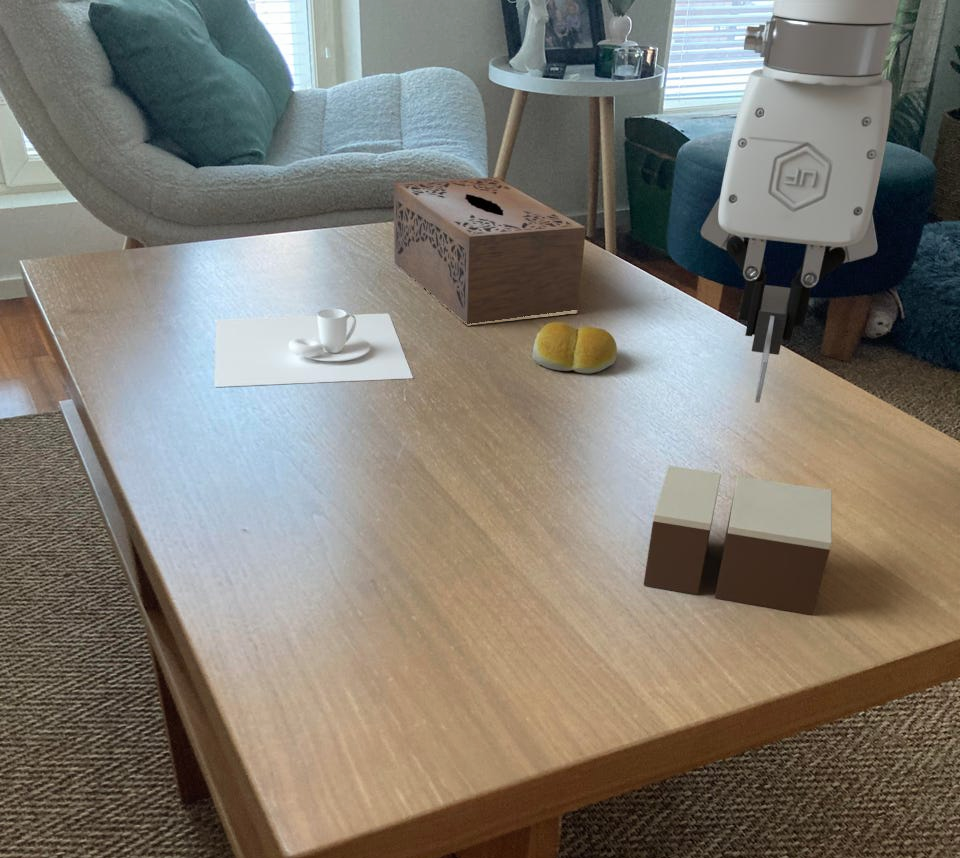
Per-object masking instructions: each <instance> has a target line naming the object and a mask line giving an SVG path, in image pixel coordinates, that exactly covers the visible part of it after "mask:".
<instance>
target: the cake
mask: <svg viewBox="0 0 960 858" xmlns="http://www.w3.org/2000/svg"><path fill="white" fill-rule="evenodd" d="M832 544H833V490H832V489H828V488H827V489H826V488H819V487H814V486H813V487H812V486H806V485H800V484H794V483H787V482H781V481H774V480H766V479H761V478H754V477H747V476H740V475H737V476H736V481H735V486H734V491H733V496H732V500H731V507H730V511H729V515H728V521H727V525H726V532H725V536H724V542H723V545H722V551H721V552H722V554H721V558H720V564H719V569H718V575H717V581H716V582H717V583H716V587H715V594H714V599H717V600H718V599H719V600H724V601H728V602H729V601H730V602H736V603H741V604H746V605H747V604H748V605H751V606H752V605H753V606H758V607H763V608H769V609H775V610H781V611H786V612H793V613H799V614H804V615H808V616H809V615H811V616H812V615H813V614H814V610H815V606H816V603H817V599H818V595H819V592H820V588H821V585H822V580H823V577H824V574H825V570H826V566H827V562H828V558H829V556H830V551H831V547H832Z"/></svg>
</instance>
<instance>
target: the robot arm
mask: <svg viewBox="0 0 960 858" xmlns="http://www.w3.org/2000/svg"><path fill="white" fill-rule="evenodd" d="M899 2H900V0H774V1H773V7H772V13H771V14H772V16H771V18H770V20H769V21H768V20H767V21H766V22H765V24H759V25H758V26H750V25H749V26H747V27H746V32H745V37H744V42H743V43H744V45H743V50H746V51H754V53H755V54H760V55H759V57H760V58H763V63H762V64H763V65H762V68H760V69H755V70H753V71H751V72H750V74H749V76H748V79H747V81H746V85H745V88H744V90H743V93H742V96H741V100H740V103H739V107H738V110H737V115H736V118H735V121H734V126H733V131H732V136H731V140H730V145H729V149H728V153H727V159H726V164H725V169H724V173H723V178H722V183H721V190H720V195H719V196H718V199H717V200H716V201H715V203H714V205H713V207H712V209H711V210H710V212H709V214H708V215H707V217H706V219H705V220H704V222H703V224H702V226H701V229H700V235H701V237H702V238H703V239H705V240H706V241H708V242H709V243H712V244H713V245H715V246H717V247H718V248H720V249H723V250H725V251H727V253H728V255H729V256H730V257H731V258H732V260H733V261H734V263H735V264H736V266H737V267H738V269H739V270H740V271H741V273H742V276H743V278H744V279H745V282H744V287H743V293H742V300H741V304H740V310H739V315H738V320H739V321H746V322H747V324H746V330H745V333H744V334H745V337H753V336H754V335H755V330H756V325H757V320H758V315H759V310H760V308H761V303H762V298H763V292H764V287H765V285H766V281H767V278H768V277H767V276H768V274H767V273H766V268H767V266H766V265H765V263H764V257H765V251H766V246H767V242H768V241H772V242H773V241H774V242H783V243H793V244H802V245H806V247H805V251H804V257H803V261H802V266H800V267H799V268H798V269H797V270H796V274H795V277H792V279H791V285H790V294H789V298H788V305H787V319H786V323H785V328H784V333H783V338H782V340H783V341H785V342H791V340H792V337H793V332H794V328H795V327H796V328H804V325H805V320H806V316H807V311H808V307H809V303H810V298H811V294H812V290H813V287H815V286H816V285H817V284H818V282H819V281H820V280H822V279H823V278H825V277H826V276H828V275H829V274H831V272H833V271H835V270H836V269H837V268H839V267H840V266H842V264H846V263H851V262H855V261H858V260H862V259H866V258H870V257H872V256H874V255H875V254H876V253H877V251H878V241H877V233H876V228H875V223H874V215H873V209H874V205H875V202H876V201H875V200H876V196H877V191H878V186H879V181H880V177H881V171H882V167H883V161H884V155H885V150H886V145H887V140H888V139H887V138H888V133H889V126H890V117H891V107H892V96H893V83H892V82H890V80H888V79H886V78H883V77H882V75H883V71H884V67H885V64H886V58H887V55H888V50H889V46H890V41H891V37H892V32H893V29H894V22H895V19H896V16H897V11H898V7H899ZM747 238H748V239H747ZM826 247H827V248H826Z"/></svg>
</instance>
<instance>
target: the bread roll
mask: <svg viewBox="0 0 960 858" xmlns="http://www.w3.org/2000/svg"><path fill="white" fill-rule="evenodd" d="M617 355H618V346H617V343H616V340H615V339H614V336H613V335H612V334H611V332H608V331H607V330H606V329H604V328H599V327H593V326H579V327H578V328H575V327H574V326H572V325H570V324H569V323H567V322H560V321H553V322H549V323H547V324H545V325H544V326H543V327H542V328H541V329H540V330H539V331H538V332H537V333H536V336H535V339H534V343H533V347H532V360H533V361H534V362H535V363H536V364H538V365H539V366H541V365H542V367H544V368H546V369H549V370H553V371H561V372H562V371H563V372H571V371H574V372H575V373H578V374H579V373H580V374H585V375H586V374H594V373H599V372H601V371H603V370H605V369H608V368H609V367H610V366H613V365H614V363H616V360H617Z"/></svg>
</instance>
